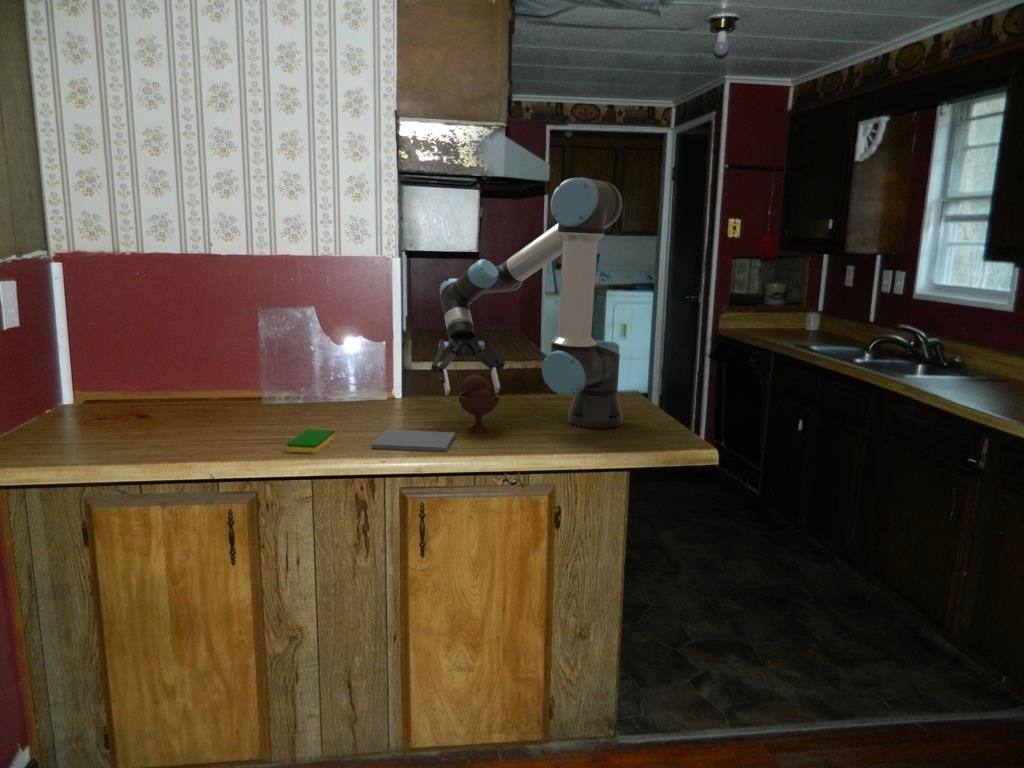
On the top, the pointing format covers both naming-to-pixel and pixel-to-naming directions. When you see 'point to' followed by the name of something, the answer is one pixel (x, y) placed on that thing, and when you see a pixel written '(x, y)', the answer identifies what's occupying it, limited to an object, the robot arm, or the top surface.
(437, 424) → the top surface
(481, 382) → the ice cream bowl
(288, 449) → the dish sponge
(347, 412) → the top surface
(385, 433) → the mat
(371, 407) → the top surface
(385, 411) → the top surface
